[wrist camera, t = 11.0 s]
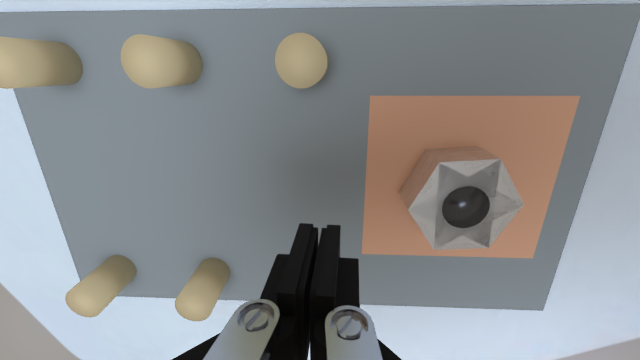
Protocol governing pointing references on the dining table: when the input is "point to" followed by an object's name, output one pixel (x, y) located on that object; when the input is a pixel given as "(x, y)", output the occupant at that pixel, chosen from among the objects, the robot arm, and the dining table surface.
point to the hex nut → (460, 197)
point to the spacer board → (308, 140)
